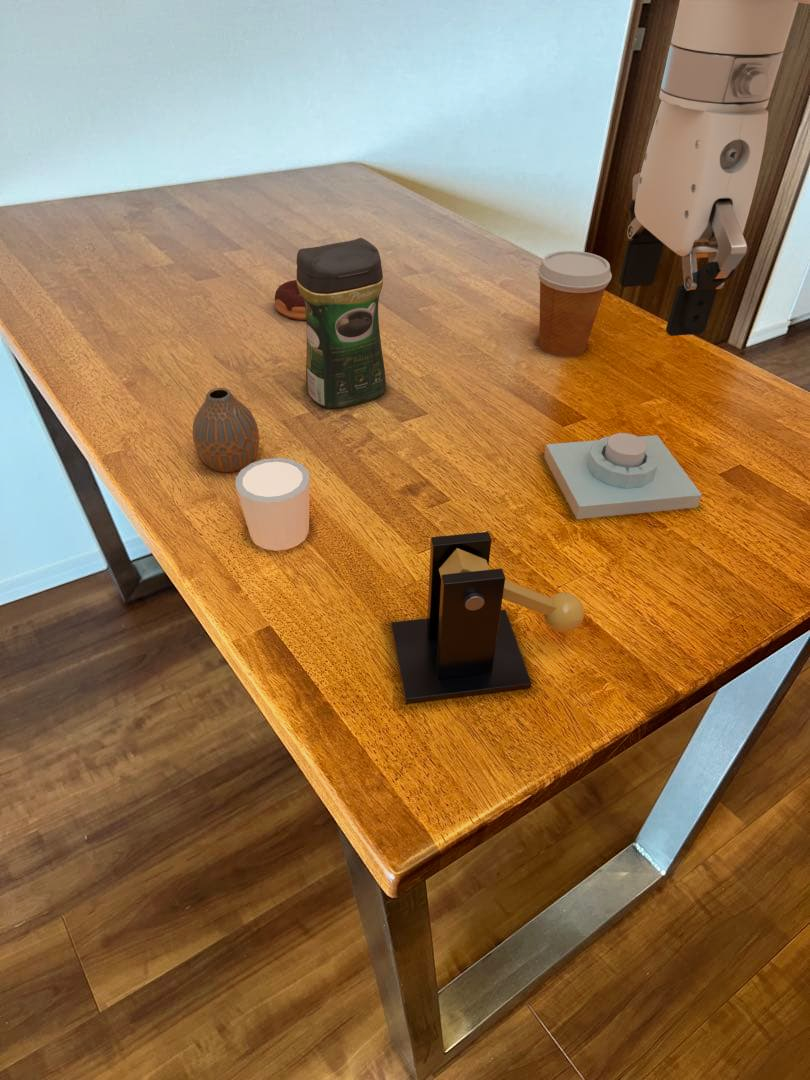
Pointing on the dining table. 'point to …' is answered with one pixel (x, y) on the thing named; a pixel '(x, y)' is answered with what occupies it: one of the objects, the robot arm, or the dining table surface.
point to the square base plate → (619, 480)
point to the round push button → (625, 450)
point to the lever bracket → (459, 632)
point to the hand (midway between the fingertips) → (658, 307)
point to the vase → (225, 432)
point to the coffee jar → (342, 322)
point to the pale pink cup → (275, 502)
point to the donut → (290, 301)
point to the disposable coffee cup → (570, 299)
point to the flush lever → (524, 594)
